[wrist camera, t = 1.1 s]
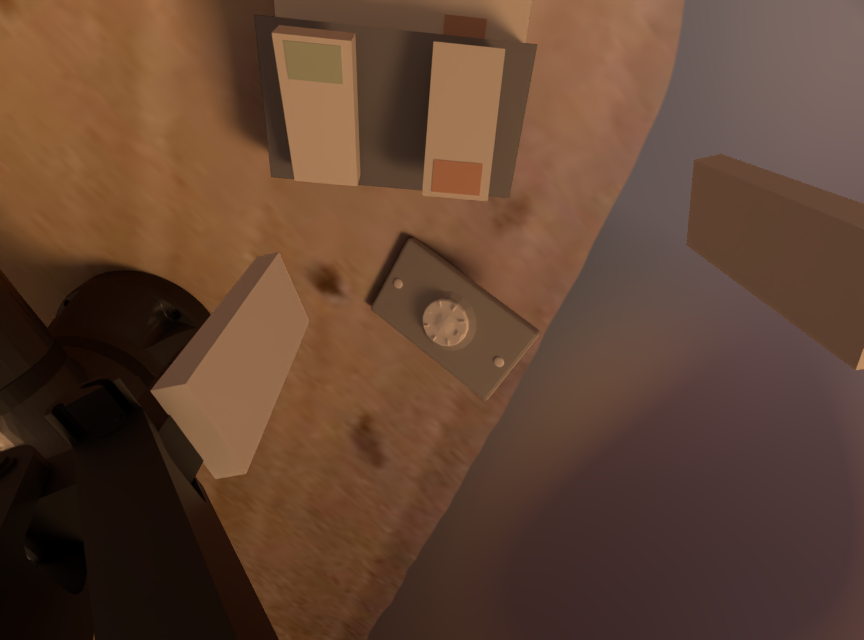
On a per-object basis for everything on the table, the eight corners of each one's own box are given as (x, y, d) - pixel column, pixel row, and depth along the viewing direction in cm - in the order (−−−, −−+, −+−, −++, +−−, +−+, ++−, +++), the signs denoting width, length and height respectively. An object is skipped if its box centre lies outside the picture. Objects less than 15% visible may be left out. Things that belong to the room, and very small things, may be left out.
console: (289, 162, 37) (266, 181, 32) (273, -34, 30) (240, -52, 25) (500, 181, 38) (511, 202, 32) (531, -6, 31) (552, -16, 26)
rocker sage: (299, 169, 32) (294, 181, 31) (279, 24, 25) (271, 32, 24) (360, 175, 32) (357, 186, 31) (355, 32, 26) (351, 41, 24)
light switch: (402, 238, 39) (536, 339, 36) (430, 232, 44) (550, 319, 41) (364, 311, 43) (482, 406, 40) (394, 297, 48) (500, 381, 45)
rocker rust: (421, 194, 31) (422, 195, 29) (432, 49, 28) (433, 41, 26) (484, 200, 31) (487, 201, 29) (500, 56, 28) (505, 48, 27)
